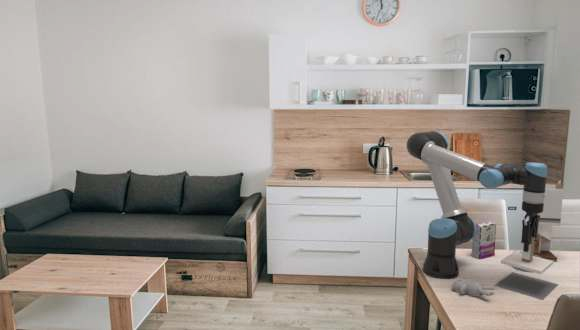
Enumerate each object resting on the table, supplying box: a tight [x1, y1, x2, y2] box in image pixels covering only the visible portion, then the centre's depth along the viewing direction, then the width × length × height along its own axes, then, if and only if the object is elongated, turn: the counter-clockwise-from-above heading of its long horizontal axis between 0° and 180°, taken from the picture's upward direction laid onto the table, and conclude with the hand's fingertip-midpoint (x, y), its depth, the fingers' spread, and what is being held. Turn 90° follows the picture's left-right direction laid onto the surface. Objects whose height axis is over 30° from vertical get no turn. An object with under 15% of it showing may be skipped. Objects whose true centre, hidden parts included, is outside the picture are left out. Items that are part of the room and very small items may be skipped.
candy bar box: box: [471, 221, 497, 260], centre depth 210 cm, size 11×5×16 cm, turn 117°
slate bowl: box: [511, 251, 541, 273], centre depth 195 cm, size 12×12×6 cm
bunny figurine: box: [451, 279, 495, 298], centre depth 170 cm, size 10×5×15 cm
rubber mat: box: [493, 271, 560, 301], centre depth 176 cm, size 20×18×1 cm
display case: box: [533, 184, 564, 263], centre depth 206 cm, size 11×11×35 cm
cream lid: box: [500, 237, 554, 275], centre depth 174 cm, size 15×15×11 cm
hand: (527, 257), depth 175 cm, fingers closed on cream lid, 3 cm apart
